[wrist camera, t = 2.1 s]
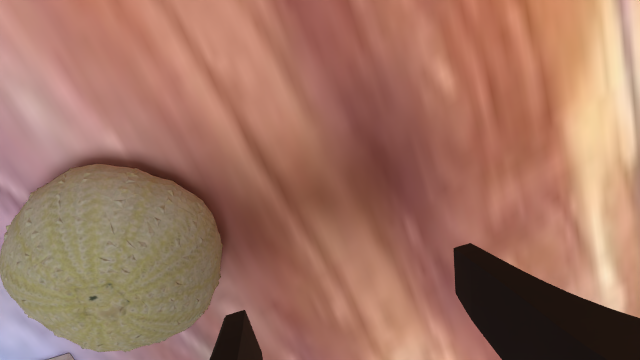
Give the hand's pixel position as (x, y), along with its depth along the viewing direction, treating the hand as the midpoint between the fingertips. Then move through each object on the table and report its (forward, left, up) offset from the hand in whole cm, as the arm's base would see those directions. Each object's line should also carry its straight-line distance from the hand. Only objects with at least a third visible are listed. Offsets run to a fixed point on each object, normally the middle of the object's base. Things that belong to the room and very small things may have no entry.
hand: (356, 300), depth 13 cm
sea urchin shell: (+10, 0, -9) cm, 13 cm away
